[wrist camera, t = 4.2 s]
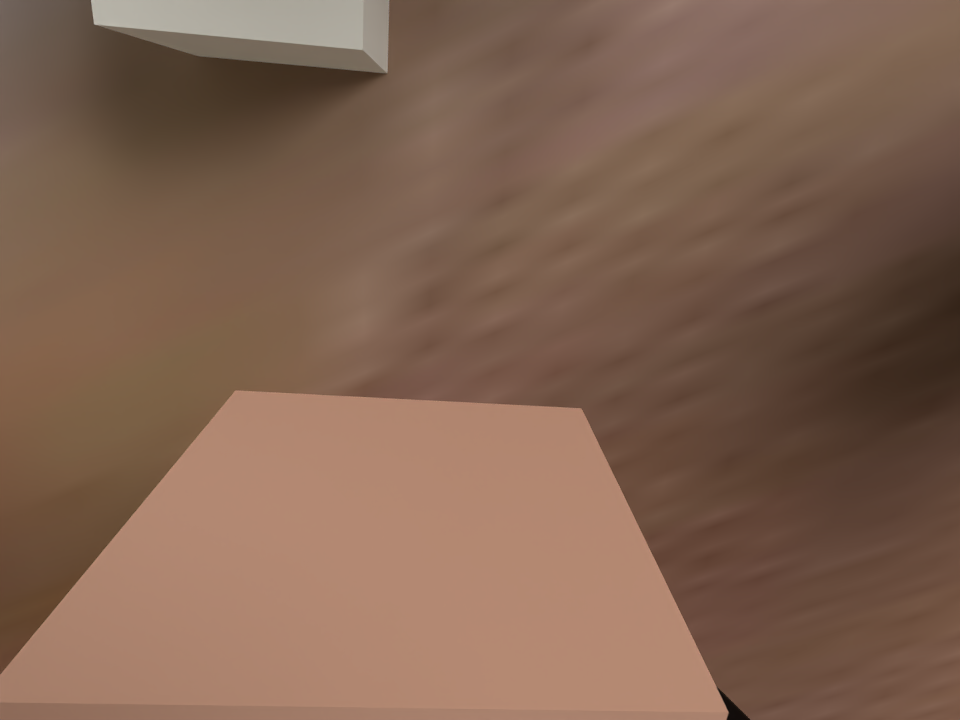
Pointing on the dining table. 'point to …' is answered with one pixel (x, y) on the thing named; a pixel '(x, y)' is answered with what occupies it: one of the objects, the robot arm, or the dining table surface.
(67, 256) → the dining table surface
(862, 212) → the dining table surface
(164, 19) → the offwhite block
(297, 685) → the terracotta block
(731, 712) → the robot arm
